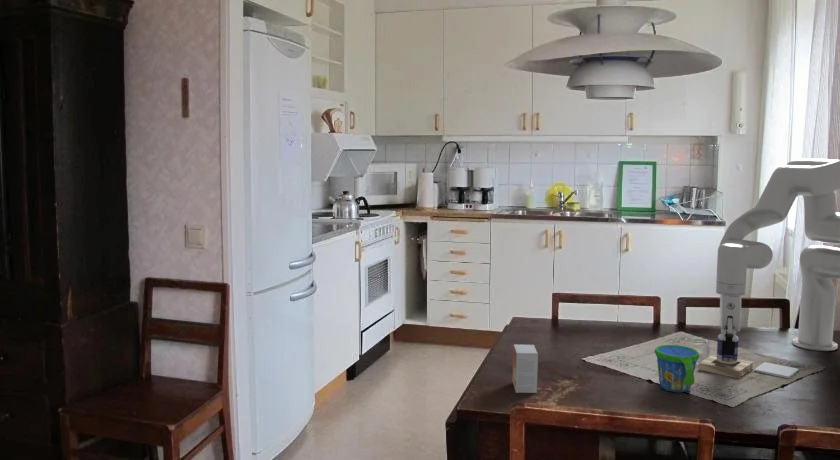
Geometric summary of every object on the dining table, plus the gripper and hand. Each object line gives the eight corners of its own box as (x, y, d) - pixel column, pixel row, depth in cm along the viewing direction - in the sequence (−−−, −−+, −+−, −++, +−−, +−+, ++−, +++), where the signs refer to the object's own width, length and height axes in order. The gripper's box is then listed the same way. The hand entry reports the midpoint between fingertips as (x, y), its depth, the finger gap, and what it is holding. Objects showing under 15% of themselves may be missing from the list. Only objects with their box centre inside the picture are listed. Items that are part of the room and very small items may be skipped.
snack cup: (706, 399, 182) (709, 359, 181) (664, 399, 182) (666, 359, 181) (684, 378, 198) (686, 342, 196) (645, 378, 198) (647, 341, 196)
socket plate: (713, 360, 213) (713, 353, 213) (752, 369, 206) (753, 361, 206) (698, 369, 205) (698, 362, 205) (739, 378, 198) (739, 370, 198)
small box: (512, 382, 194) (512, 343, 193) (533, 382, 194) (534, 344, 192) (515, 393, 186) (515, 352, 185) (537, 393, 186) (538, 353, 184)
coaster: (764, 364, 210) (764, 362, 210) (798, 370, 204) (798, 368, 204) (754, 371, 204) (754, 369, 204) (788, 378, 198) (789, 376, 198)
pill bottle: (723, 365, 202) (725, 330, 201) (712, 359, 208) (714, 325, 206) (741, 364, 203) (743, 329, 202) (729, 358, 209) (732, 324, 207)
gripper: (747, 295, 193) (743, 362, 196) (743, 283, 209) (740, 344, 212) (716, 293, 196) (713, 359, 199) (715, 281, 212) (712, 342, 214)
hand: (727, 351), depth 205 cm, fingers closed on pill bottle, 5 cm apart
